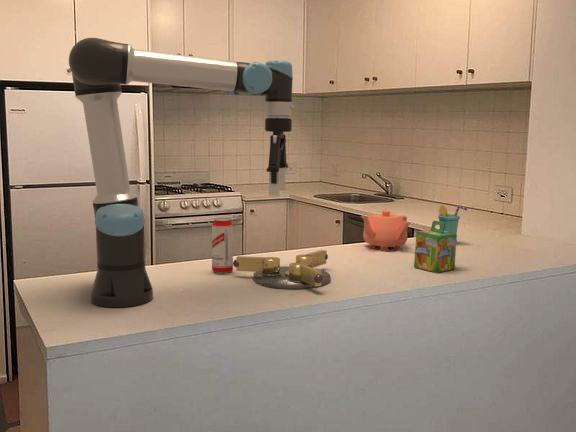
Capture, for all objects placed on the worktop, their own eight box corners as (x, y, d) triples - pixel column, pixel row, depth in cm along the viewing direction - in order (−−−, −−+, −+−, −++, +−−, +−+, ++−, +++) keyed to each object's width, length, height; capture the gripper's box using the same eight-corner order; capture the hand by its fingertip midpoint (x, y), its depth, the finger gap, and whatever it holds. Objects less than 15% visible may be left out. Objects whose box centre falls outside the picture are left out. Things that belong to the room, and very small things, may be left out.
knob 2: (306, 272, 184) (306, 258, 183) (292, 269, 187) (292, 255, 186) (332, 264, 194) (333, 250, 194) (319, 261, 197) (319, 248, 197)
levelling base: (278, 293, 168) (278, 284, 167) (239, 275, 186) (239, 267, 186) (345, 283, 179) (345, 274, 179) (303, 267, 198) (303, 259, 197)
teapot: (408, 253, 219) (410, 214, 217) (359, 251, 222) (360, 213, 220) (406, 244, 235) (407, 208, 233) (360, 242, 237) (360, 207, 235)
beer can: (222, 268, 195) (222, 216, 192) (237, 271, 191) (237, 219, 188) (207, 272, 190) (207, 219, 187) (222, 275, 186) (222, 221, 183)
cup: (471, 246, 232) (473, 205, 230) (457, 248, 228) (459, 207, 225) (442, 240, 244) (444, 201, 241) (428, 242, 239) (429, 202, 237)
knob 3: (285, 277, 178) (285, 263, 177) (300, 275, 180) (301, 261, 180) (313, 289, 166) (313, 273, 165) (328, 286, 169) (329, 271, 168)
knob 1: (281, 270, 185) (281, 256, 185) (278, 274, 181) (278, 260, 180) (235, 268, 187) (235, 254, 187) (231, 272, 182) (231, 258, 182)
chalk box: (413, 268, 198) (415, 221, 196) (432, 264, 204) (434, 218, 202) (437, 273, 191) (439, 225, 189) (456, 269, 197) (458, 222, 195)
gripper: (286, 117, 166) (285, 198, 169) (296, 117, 191) (295, 188, 194) (257, 117, 167) (257, 197, 170) (271, 117, 192) (270, 187, 195)
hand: (277, 192), depth 182 cm, fingers open, 13 cm apart
